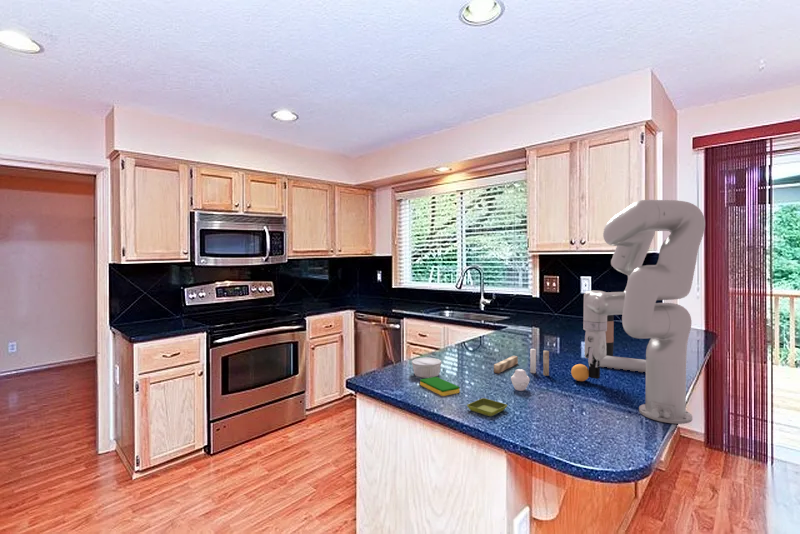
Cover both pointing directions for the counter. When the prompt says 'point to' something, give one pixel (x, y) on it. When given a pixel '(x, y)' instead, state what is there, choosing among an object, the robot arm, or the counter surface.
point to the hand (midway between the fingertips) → (594, 377)
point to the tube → (623, 363)
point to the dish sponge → (439, 386)
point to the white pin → (532, 360)
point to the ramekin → (426, 367)
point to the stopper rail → (505, 364)
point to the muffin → (520, 380)
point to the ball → (580, 372)
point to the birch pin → (546, 363)
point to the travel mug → (610, 335)
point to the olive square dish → (487, 407)
